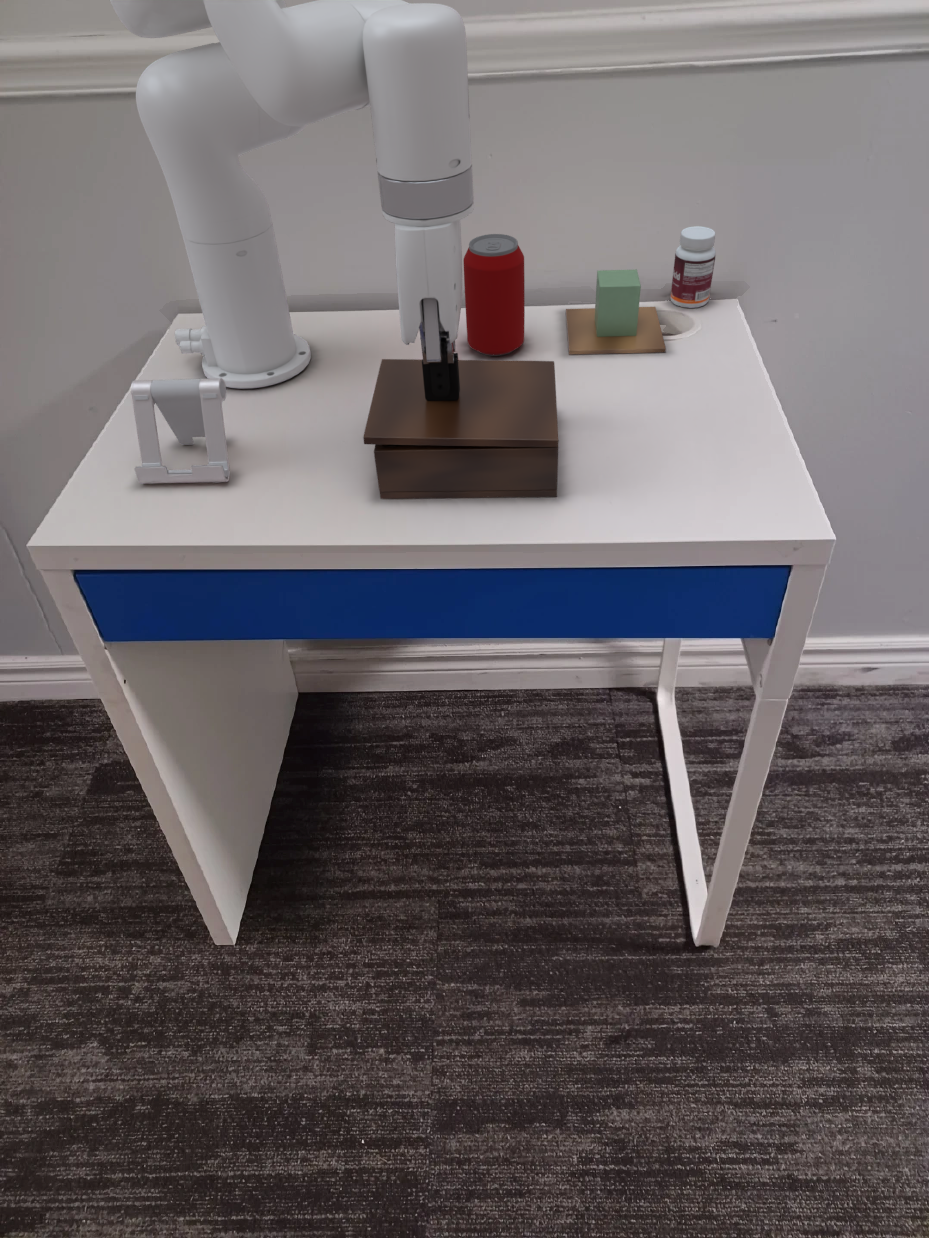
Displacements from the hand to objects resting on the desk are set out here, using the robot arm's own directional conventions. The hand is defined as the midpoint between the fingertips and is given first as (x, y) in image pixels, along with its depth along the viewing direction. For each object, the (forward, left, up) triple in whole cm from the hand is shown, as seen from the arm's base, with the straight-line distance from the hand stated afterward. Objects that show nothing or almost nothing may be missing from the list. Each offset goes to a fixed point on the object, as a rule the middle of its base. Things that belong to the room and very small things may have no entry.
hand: (442, 396), depth 84 cm
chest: (+2, 0, -7) cm, 7 cm away
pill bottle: (+28, +34, -7) cm, 45 cm away
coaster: (+18, +26, -7) cm, 33 cm away
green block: (+19, +26, -6) cm, 33 cm away
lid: (+2, 0, -1) cm, 2 cm away
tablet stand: (-26, -1, -7) cm, 27 cm away
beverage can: (+4, +23, -7) cm, 25 cm away
